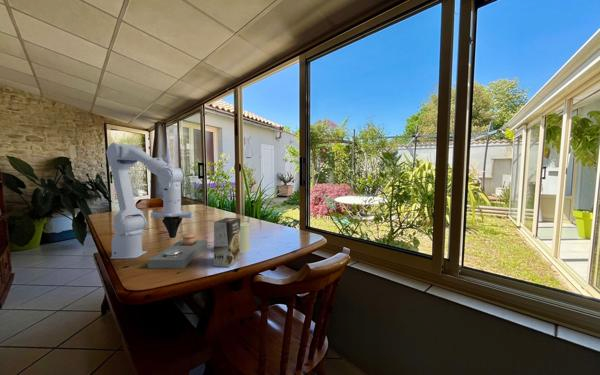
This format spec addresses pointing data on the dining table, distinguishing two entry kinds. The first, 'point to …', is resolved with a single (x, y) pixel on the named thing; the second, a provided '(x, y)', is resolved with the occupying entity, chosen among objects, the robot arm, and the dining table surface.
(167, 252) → the grey plunger
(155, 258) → the console
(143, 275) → the dining table surface
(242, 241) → the can
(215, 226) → the coffee box
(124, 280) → the dining table surface
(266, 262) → the dining table surface
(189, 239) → the tan rounded lump
